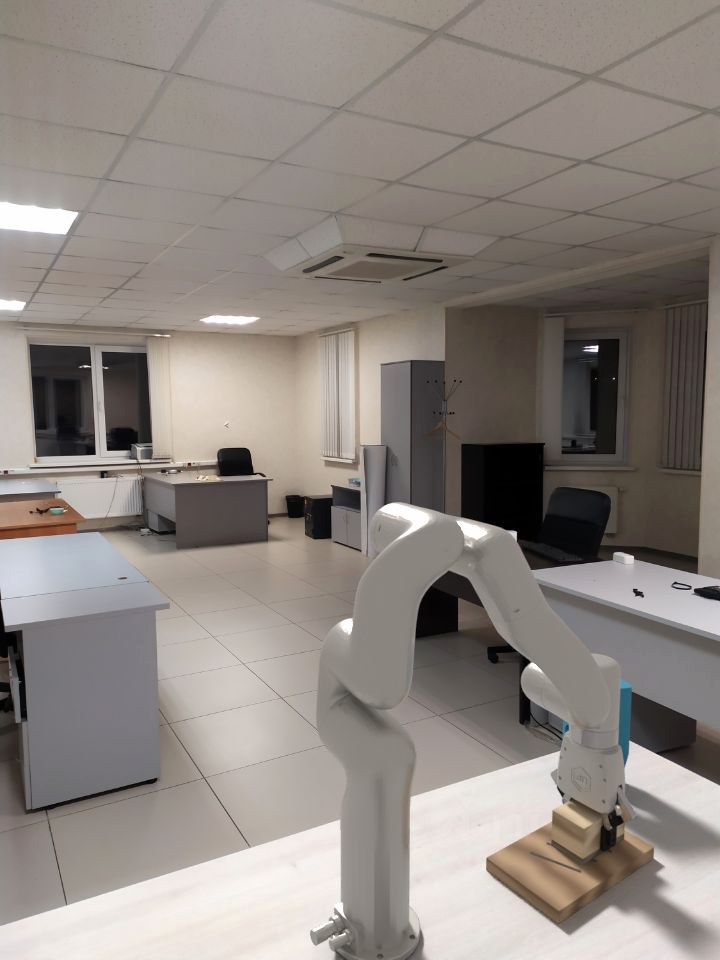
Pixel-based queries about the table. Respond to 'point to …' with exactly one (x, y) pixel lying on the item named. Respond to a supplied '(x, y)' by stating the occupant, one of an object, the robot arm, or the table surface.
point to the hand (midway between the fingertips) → (589, 836)
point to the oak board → (564, 871)
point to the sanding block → (579, 830)
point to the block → (620, 719)
